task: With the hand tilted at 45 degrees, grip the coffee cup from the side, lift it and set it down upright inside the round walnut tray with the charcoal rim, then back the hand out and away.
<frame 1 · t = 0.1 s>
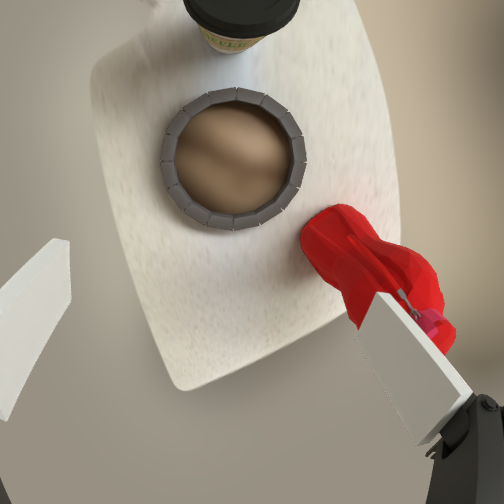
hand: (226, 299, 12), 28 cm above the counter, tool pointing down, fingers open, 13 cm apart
coffee cup: (230, 32, 30), on the counter
red curved bottle: (328, 231, 43), on the counter
round tray: (233, 157, 37), on the counter
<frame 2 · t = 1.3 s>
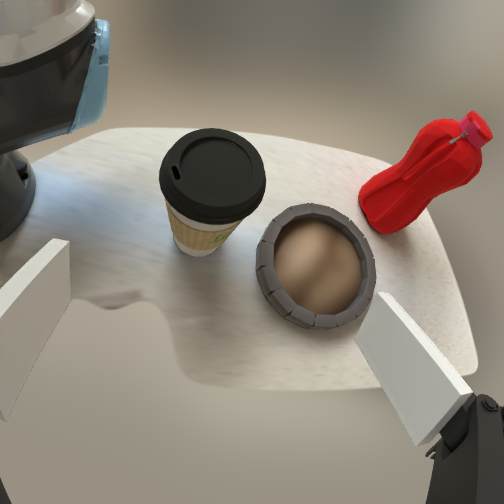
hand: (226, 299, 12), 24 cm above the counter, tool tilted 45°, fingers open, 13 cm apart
coffee cup: (197, 234, 39), on the counter
red curved bottle: (375, 211, 49), on the counter
round tray: (315, 267, 42), on the counter
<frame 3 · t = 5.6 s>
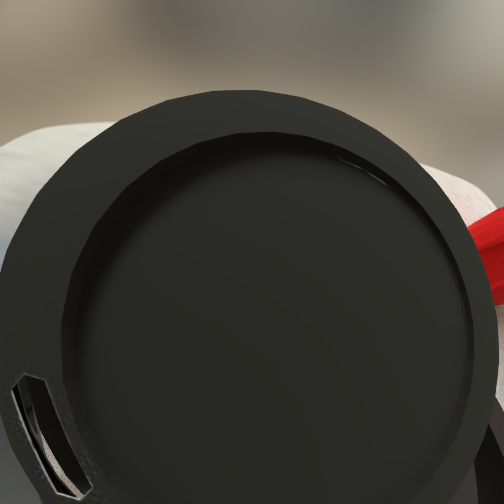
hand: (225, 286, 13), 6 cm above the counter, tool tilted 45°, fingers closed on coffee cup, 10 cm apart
coffee cup: (201, 361, 17), on the counter, touching gripper
red curved bottle: (477, 267, 27), on the counter
when the fingers open (8 cm above the counter, at t = 11.8 s): coffee cup drops 1 cm, resting on round tray.
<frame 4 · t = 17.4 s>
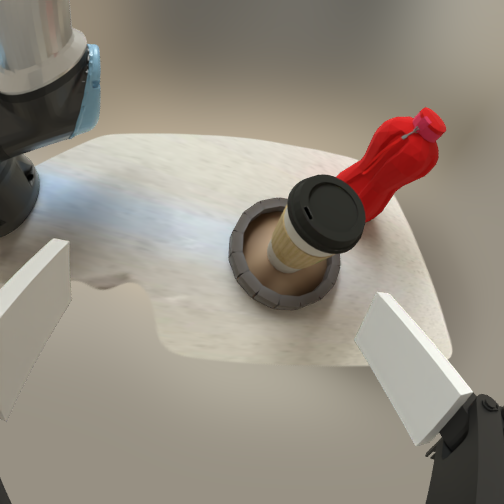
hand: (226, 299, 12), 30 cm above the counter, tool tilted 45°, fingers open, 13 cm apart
coffee cup: (286, 254, 47), point 1 cm above the counter, touching round tray
red curved bottle: (345, 205, 55), on the counter
round tray: (283, 254, 47), on the counter
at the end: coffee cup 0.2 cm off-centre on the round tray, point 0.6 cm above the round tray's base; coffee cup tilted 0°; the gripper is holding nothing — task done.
